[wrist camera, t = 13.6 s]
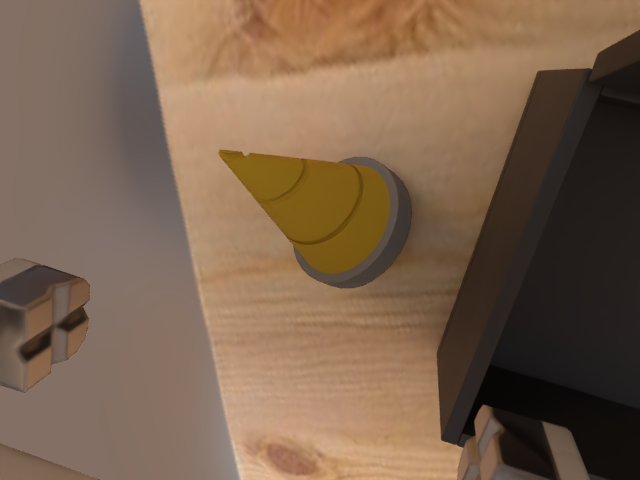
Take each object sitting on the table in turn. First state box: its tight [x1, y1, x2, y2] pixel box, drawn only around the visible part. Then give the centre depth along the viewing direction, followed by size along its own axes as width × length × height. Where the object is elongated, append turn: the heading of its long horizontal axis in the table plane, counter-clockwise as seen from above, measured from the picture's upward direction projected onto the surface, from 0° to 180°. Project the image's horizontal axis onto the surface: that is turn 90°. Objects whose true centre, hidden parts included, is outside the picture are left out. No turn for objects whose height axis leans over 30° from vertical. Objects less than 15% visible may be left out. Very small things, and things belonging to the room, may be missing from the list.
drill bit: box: [219, 150, 412, 288], centre depth 19 cm, size 5×5×10 cm
